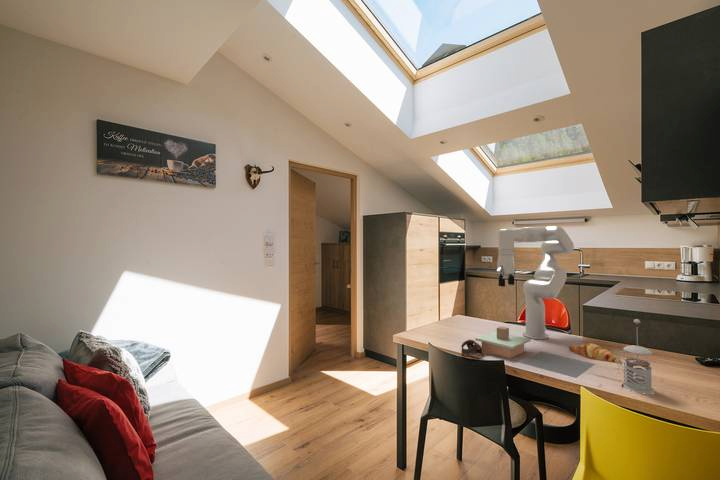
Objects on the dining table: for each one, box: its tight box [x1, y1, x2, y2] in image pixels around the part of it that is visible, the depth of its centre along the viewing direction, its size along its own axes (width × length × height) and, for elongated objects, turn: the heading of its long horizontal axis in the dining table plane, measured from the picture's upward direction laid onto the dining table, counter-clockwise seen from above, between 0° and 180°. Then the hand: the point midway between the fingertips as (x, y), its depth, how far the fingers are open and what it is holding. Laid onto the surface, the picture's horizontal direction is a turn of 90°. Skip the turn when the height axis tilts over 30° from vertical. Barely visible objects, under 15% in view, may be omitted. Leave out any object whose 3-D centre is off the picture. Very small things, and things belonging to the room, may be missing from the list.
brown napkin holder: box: [460, 339, 484, 357], centre depth 161 cm, size 12×10×8 cm
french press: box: [615, 318, 656, 395], centre depth 124 cm, size 10×12×25 cm
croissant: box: [568, 342, 622, 364], centre depth 154 cm, size 21×10×8 cm, turn 34°
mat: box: [518, 351, 596, 379], centre depth 146 cm, size 22×22×1 cm
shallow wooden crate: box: [480, 341, 525, 359], centre depth 163 cm, size 14×14×6 cm
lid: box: [475, 326, 532, 349], centre depth 163 cm, size 18×18×6 cm
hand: (506, 285), depth 177 cm, fingers open, 9 cm apart
